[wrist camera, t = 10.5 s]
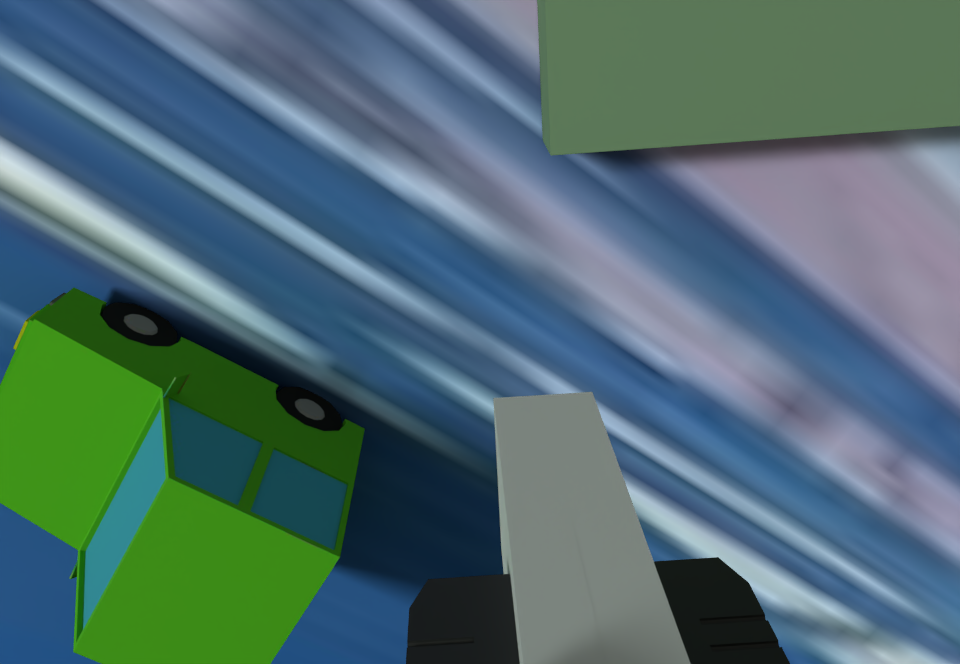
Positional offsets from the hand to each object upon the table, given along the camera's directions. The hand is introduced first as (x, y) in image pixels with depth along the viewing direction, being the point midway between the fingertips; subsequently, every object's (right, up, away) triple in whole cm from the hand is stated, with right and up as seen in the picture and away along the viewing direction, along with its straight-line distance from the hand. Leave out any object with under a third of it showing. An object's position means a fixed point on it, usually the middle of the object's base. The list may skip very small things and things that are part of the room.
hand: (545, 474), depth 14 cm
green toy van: (-14, -2, +25) cm, 29 cm away
